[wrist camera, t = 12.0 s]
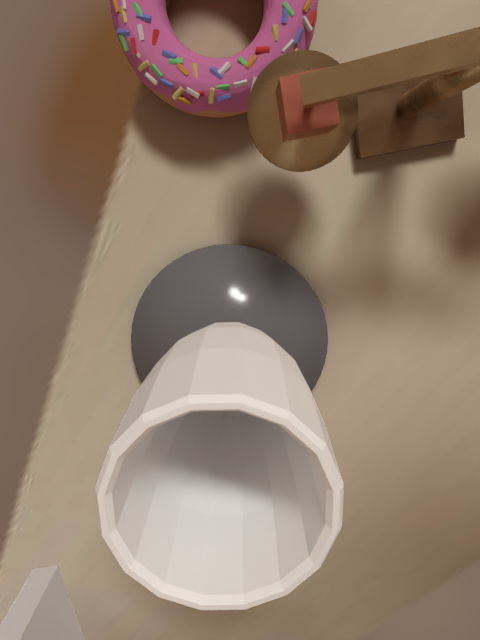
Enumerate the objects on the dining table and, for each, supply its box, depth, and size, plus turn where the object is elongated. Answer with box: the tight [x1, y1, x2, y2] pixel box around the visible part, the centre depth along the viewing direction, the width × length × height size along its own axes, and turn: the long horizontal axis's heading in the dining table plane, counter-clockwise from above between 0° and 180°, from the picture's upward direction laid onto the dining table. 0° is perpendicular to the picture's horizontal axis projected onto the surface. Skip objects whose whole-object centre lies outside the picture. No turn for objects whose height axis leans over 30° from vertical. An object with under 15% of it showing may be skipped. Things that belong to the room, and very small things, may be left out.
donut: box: [110, 0, 318, 117], centre depth 30 cm, size 14×14×5 cm
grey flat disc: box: [131, 244, 328, 391], centre depth 38 cm, size 17×17×1 cm
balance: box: [247, 27, 480, 172], centre depth 25 cm, size 25×7×17 cm, turn 101°
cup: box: [94, 322, 344, 610], centre depth 27 cm, size 10×10×22 cm
